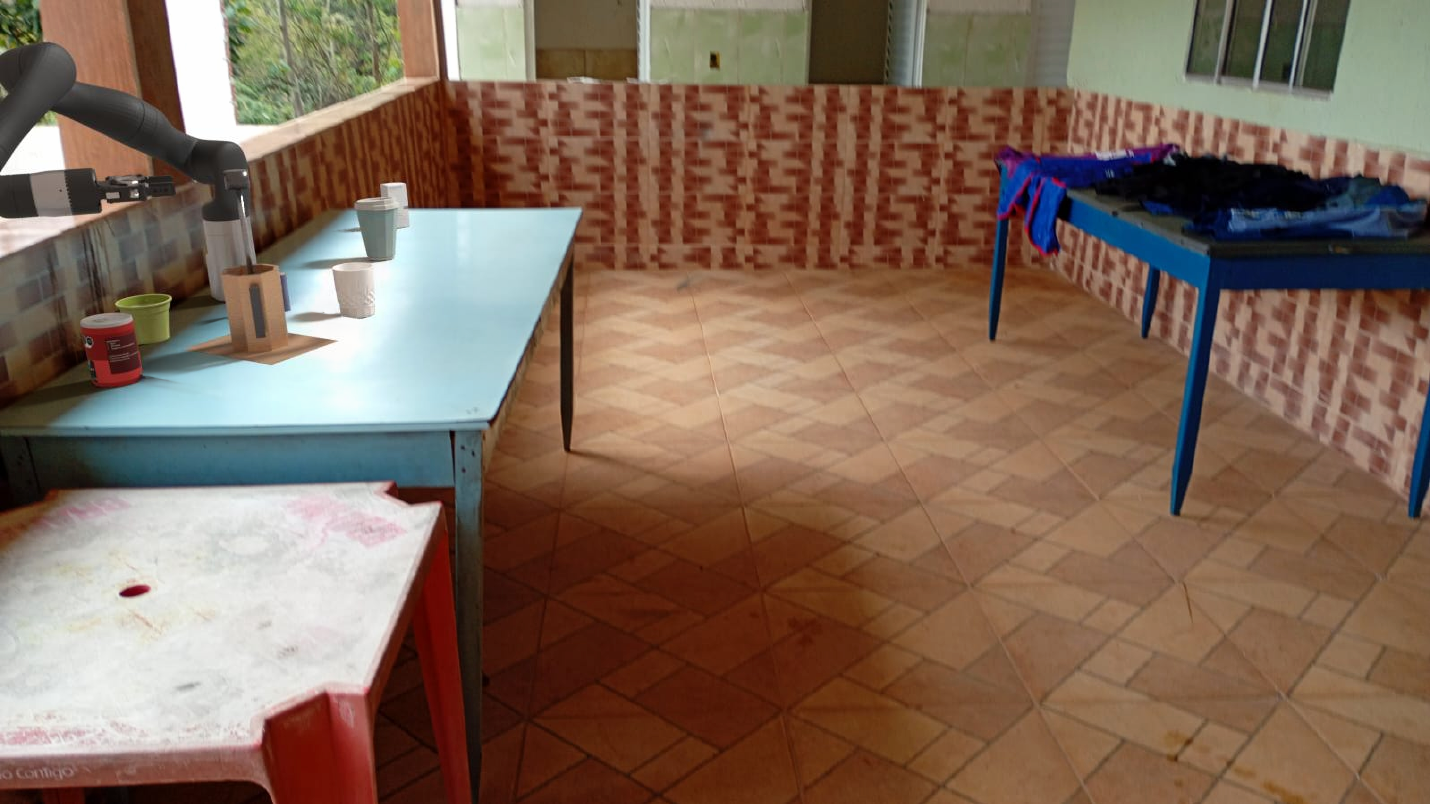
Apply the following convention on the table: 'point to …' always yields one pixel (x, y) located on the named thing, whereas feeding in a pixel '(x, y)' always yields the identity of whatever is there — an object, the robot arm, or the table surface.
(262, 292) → the press beaker
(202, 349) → the walnut board
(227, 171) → the plunger
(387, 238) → the disposable coffee cup
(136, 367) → the canned food
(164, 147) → the robot arm
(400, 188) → the skincare box
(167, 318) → the plant pot
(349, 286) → the white cup
